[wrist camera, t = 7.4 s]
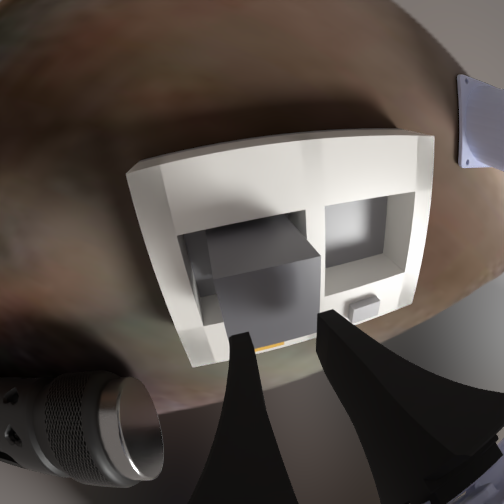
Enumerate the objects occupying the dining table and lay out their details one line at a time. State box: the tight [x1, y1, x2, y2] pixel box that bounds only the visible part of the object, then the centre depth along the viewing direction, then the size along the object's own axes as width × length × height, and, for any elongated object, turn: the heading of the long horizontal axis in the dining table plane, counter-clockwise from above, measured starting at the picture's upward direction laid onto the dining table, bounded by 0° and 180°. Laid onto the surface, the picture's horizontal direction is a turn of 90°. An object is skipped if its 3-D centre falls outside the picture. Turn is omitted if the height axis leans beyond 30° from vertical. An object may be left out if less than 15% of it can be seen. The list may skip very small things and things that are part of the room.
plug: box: [205, 214, 321, 349], centre depth 14 cm, size 4×4×6 cm
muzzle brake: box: [0, 370, 164, 488], centre depth 15 cm, size 10×28×10 cm, turn 97°
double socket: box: [126, 128, 434, 367], centre depth 16 cm, size 16×12×4 cm
